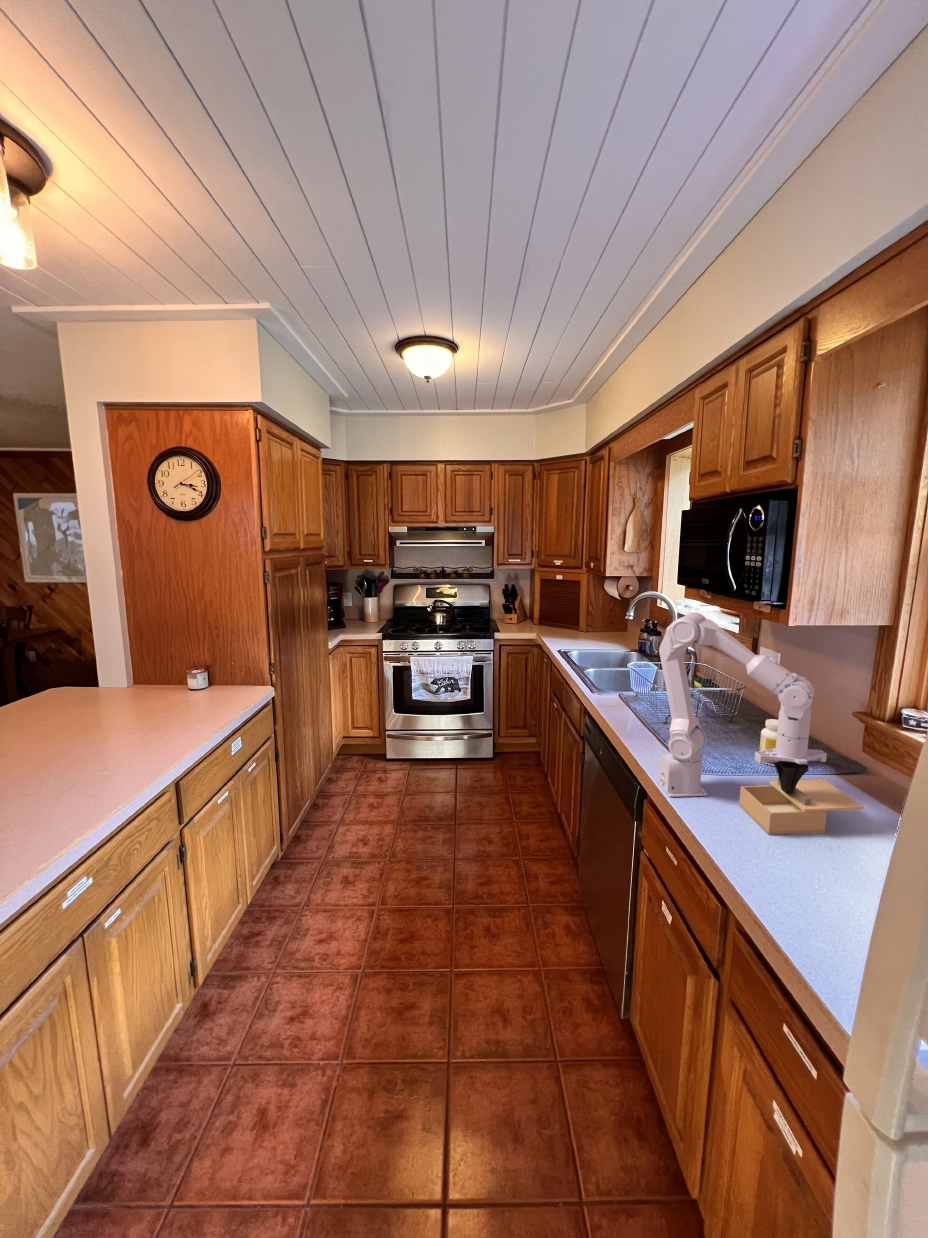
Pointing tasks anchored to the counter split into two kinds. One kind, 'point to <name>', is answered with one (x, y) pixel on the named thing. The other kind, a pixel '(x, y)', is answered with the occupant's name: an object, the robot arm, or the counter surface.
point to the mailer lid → (818, 796)
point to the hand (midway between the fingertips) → (786, 791)
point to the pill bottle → (769, 736)
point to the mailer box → (779, 812)
